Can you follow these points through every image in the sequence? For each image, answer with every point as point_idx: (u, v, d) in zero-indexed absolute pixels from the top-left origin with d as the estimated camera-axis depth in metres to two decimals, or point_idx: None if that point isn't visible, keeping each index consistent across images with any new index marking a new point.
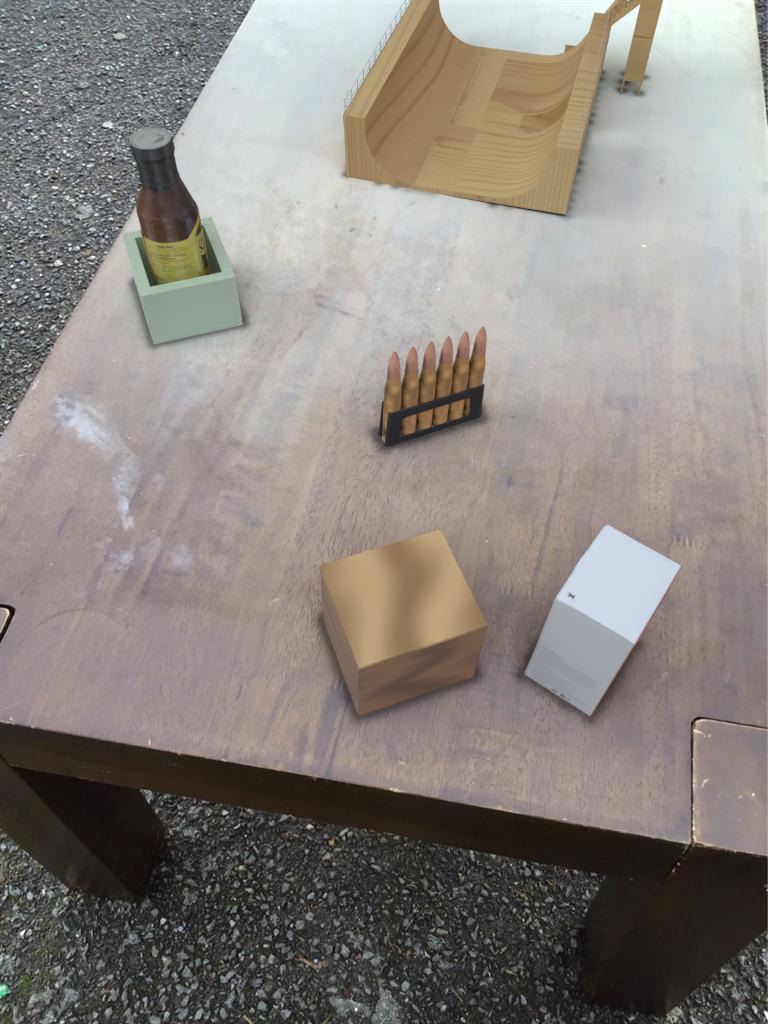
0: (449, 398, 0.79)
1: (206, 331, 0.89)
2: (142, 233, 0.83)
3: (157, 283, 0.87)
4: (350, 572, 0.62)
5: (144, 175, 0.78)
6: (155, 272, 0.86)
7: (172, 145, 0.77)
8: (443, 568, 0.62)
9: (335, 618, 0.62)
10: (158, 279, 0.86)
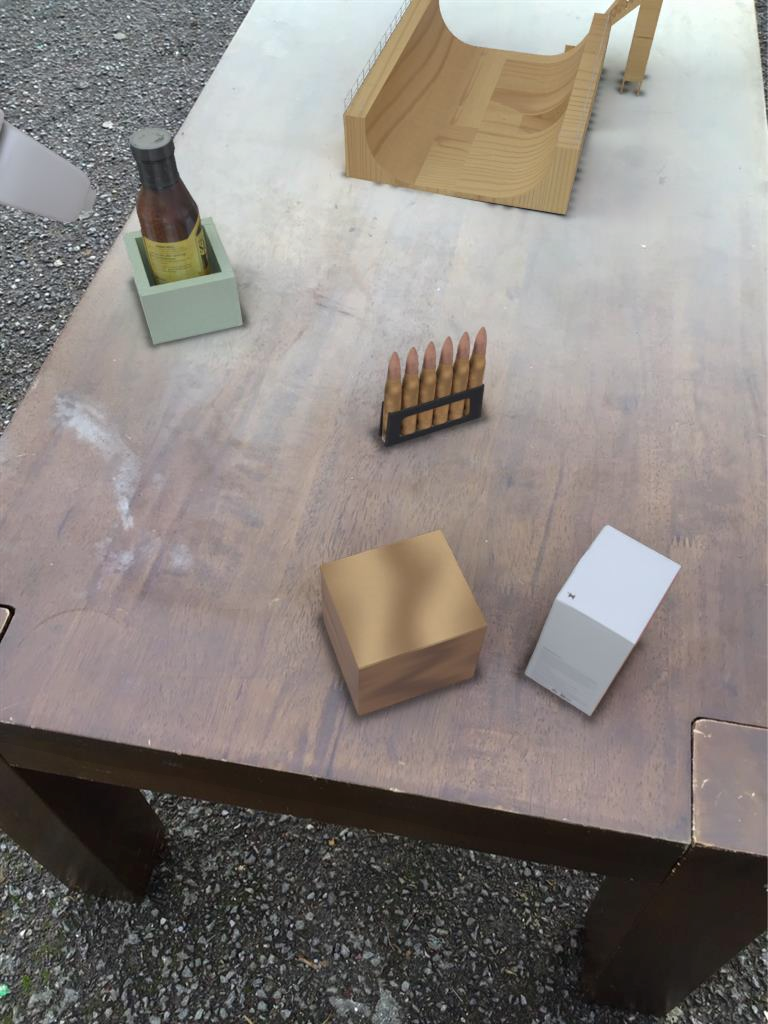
0: (449, 398, 0.79)
1: (206, 331, 0.89)
2: (142, 233, 0.83)
3: (157, 283, 0.87)
4: (350, 572, 0.62)
5: (144, 175, 0.78)
6: (155, 272, 0.86)
7: (172, 145, 0.77)
8: (443, 568, 0.62)
9: (335, 618, 0.62)
10: (158, 279, 0.86)
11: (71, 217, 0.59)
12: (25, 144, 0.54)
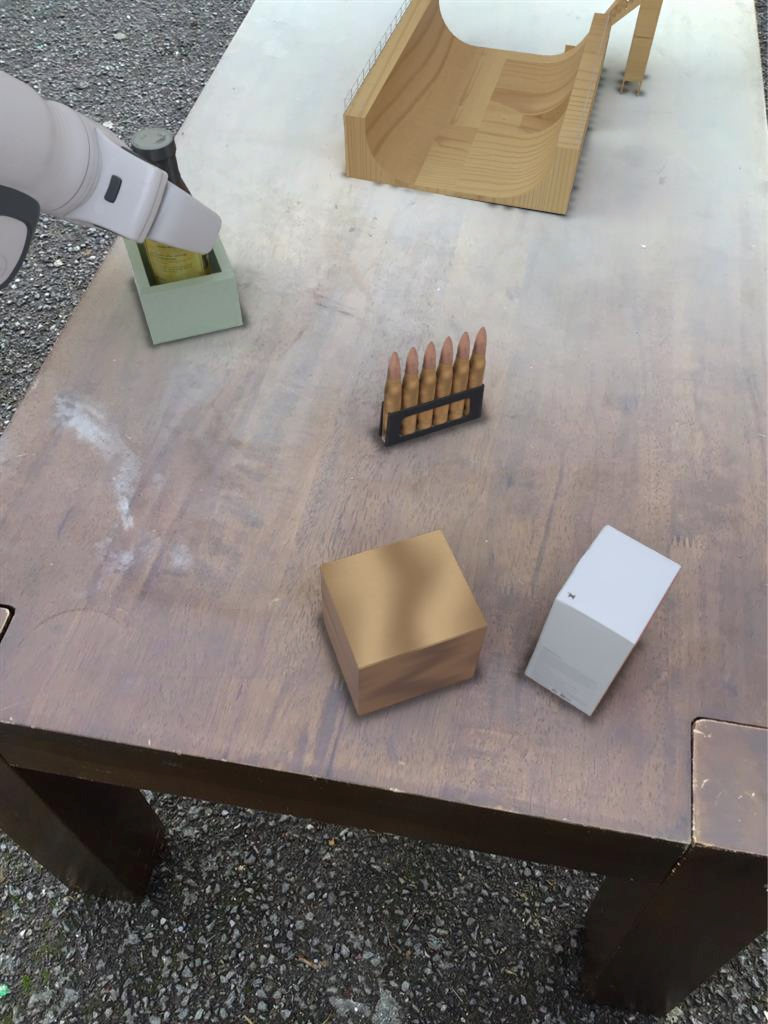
0: (449, 398, 0.79)
1: (206, 331, 0.89)
2: None
3: (157, 283, 0.87)
4: (350, 572, 0.62)
5: None
6: (155, 271, 0.86)
7: (174, 145, 0.77)
8: (443, 568, 0.62)
9: (335, 618, 0.62)
10: (158, 279, 0.86)
11: (207, 250, 0.75)
12: (181, 197, 0.70)
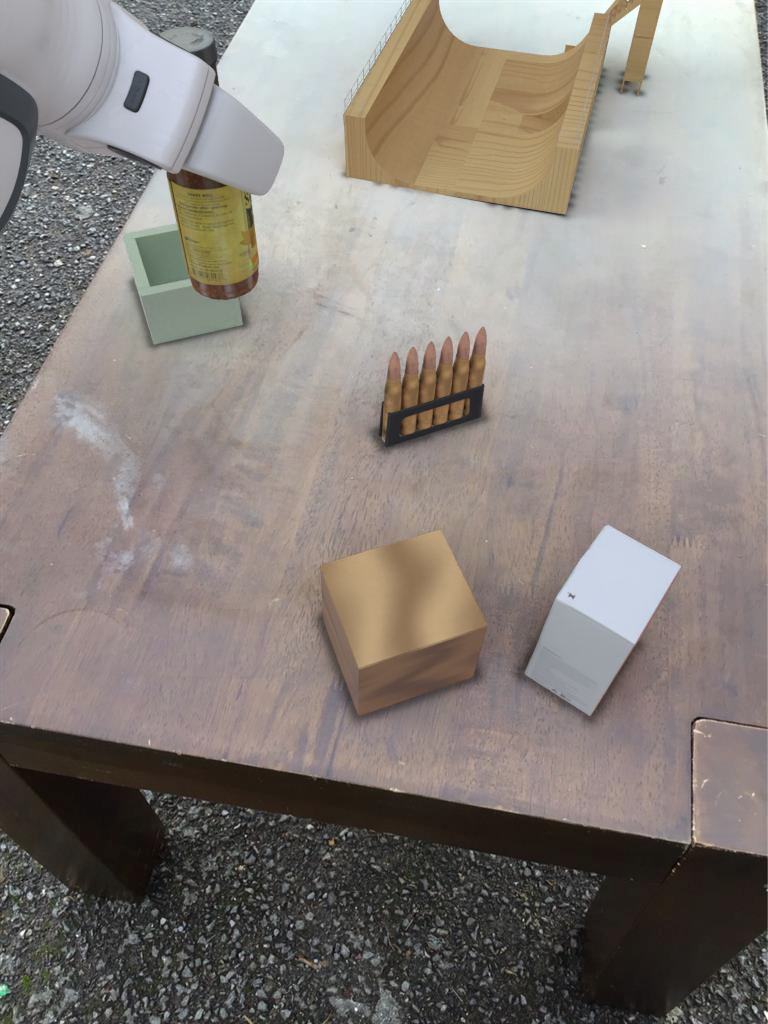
0: (449, 398, 0.79)
1: (206, 331, 0.89)
2: (169, 177, 0.62)
3: (186, 247, 0.66)
4: (350, 572, 0.62)
5: None
6: (184, 231, 0.65)
7: (215, 50, 0.56)
8: (443, 568, 0.62)
9: (335, 618, 0.62)
10: (188, 241, 0.65)
11: (265, 189, 0.54)
12: (234, 107, 0.49)
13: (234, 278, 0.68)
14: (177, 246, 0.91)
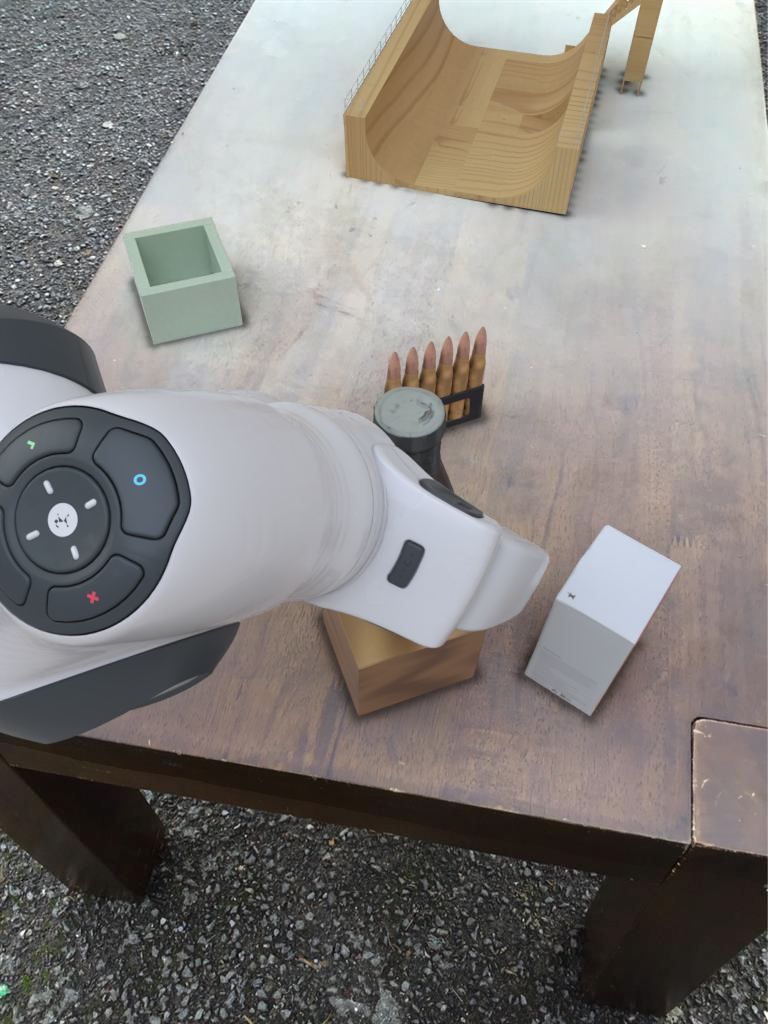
0: (449, 398, 0.79)
1: (206, 331, 0.89)
2: None
3: None
4: None
5: None
6: None
7: (445, 421, 0.45)
8: None
9: (335, 618, 0.62)
10: None
11: (522, 608, 0.43)
12: (515, 557, 0.38)
13: None
14: (177, 246, 0.91)
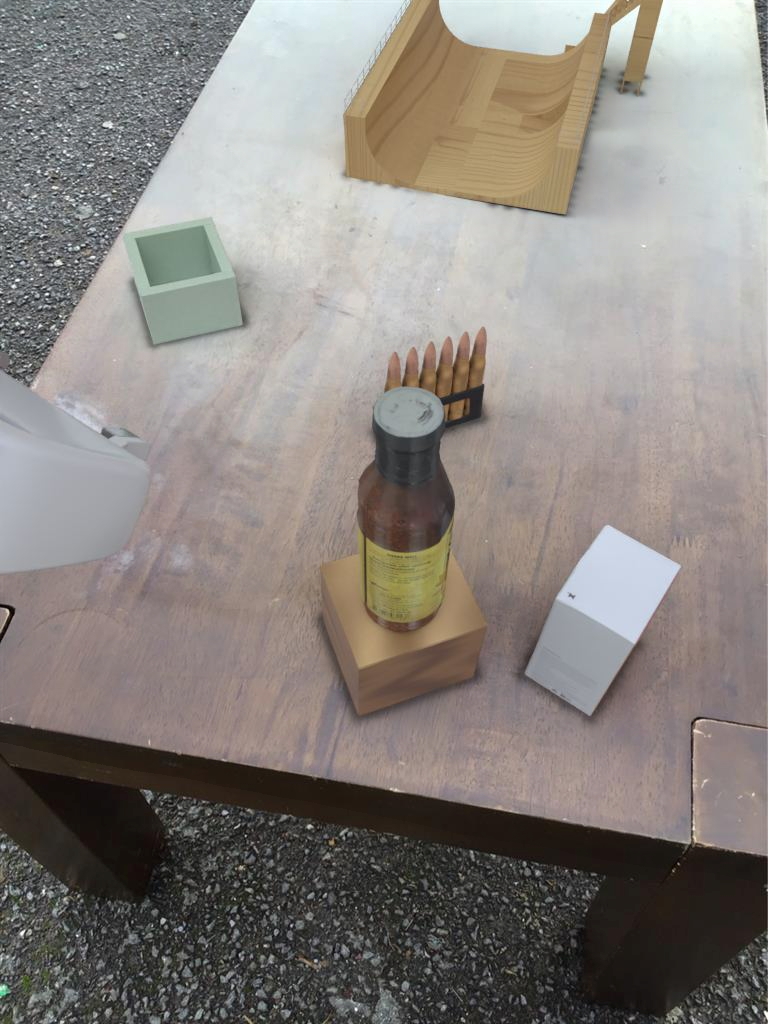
0: (449, 398, 0.79)
1: (206, 331, 0.89)
2: (362, 530, 0.51)
3: (370, 588, 0.55)
4: (350, 572, 0.62)
5: (391, 466, 0.46)
6: (371, 577, 0.54)
7: (444, 421, 0.45)
8: None
9: (335, 618, 0.62)
10: (375, 586, 0.54)
11: (115, 549, 0.30)
12: (25, 461, 0.25)
13: (422, 615, 0.57)
14: (177, 246, 0.91)
